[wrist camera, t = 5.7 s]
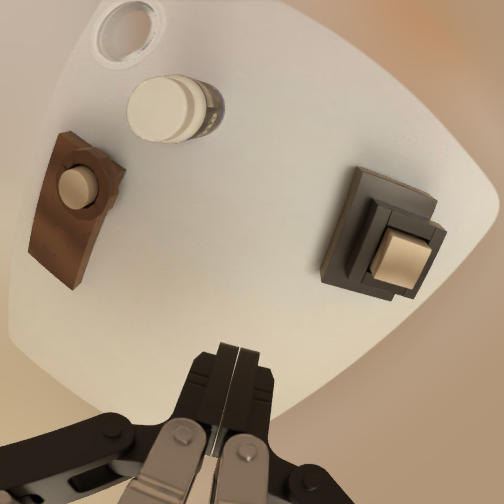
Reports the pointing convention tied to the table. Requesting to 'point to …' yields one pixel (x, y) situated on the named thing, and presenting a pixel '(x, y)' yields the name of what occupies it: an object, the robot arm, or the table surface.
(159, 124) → the pill bottle
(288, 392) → the table surface
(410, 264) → the near key
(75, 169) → the far key
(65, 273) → the brown flat piece
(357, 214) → the key box
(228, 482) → the robot arm
